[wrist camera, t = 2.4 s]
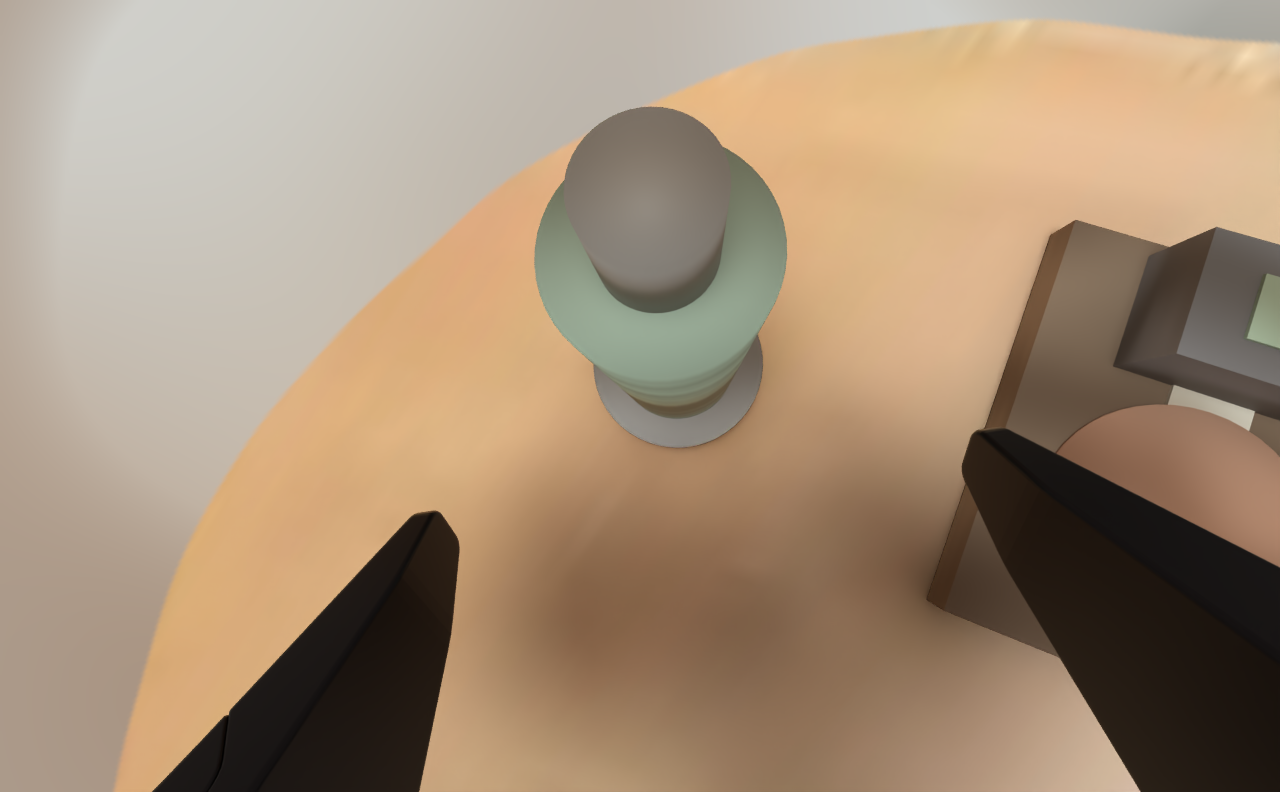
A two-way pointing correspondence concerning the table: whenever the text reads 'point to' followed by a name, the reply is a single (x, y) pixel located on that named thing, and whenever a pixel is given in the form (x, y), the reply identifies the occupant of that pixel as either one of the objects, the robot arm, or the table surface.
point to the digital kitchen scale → (1139, 395)
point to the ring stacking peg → (663, 273)
